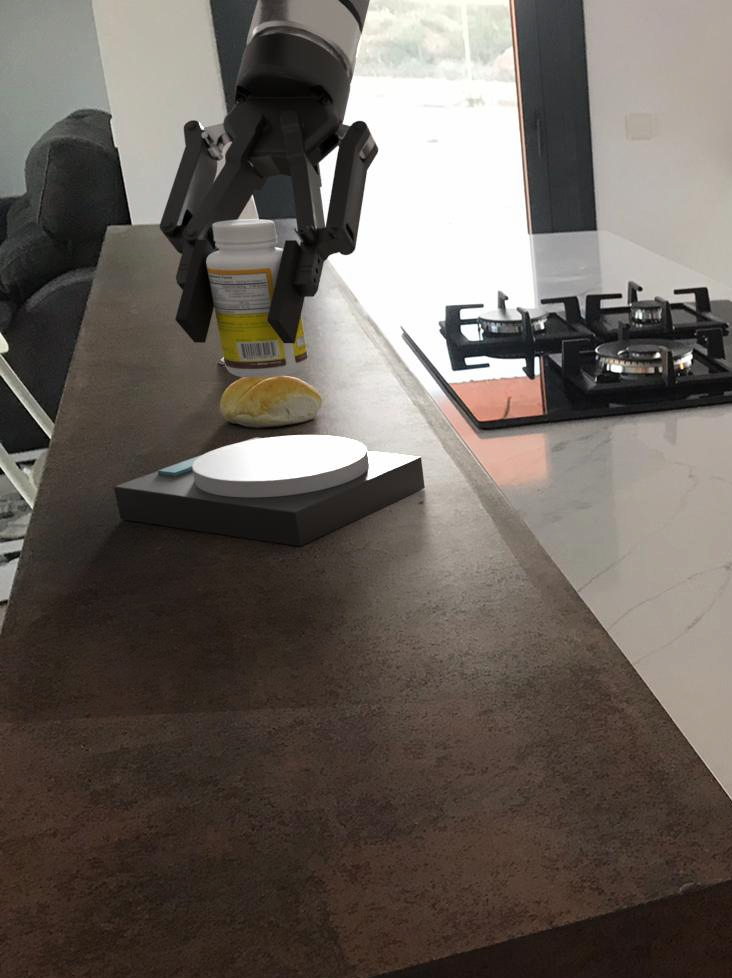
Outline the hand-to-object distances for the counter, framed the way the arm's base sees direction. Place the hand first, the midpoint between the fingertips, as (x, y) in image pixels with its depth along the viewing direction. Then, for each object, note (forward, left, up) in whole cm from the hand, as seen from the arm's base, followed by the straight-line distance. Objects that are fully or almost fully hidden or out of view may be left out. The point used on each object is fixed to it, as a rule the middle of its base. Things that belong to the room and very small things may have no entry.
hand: (235, 331), depth 86 cm
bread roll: (-20, +23, -14) cm, 34 cm away
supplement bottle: (-1, +3, -4) cm, 5 cm away
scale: (-2, +3, -14) cm, 14 cm away
